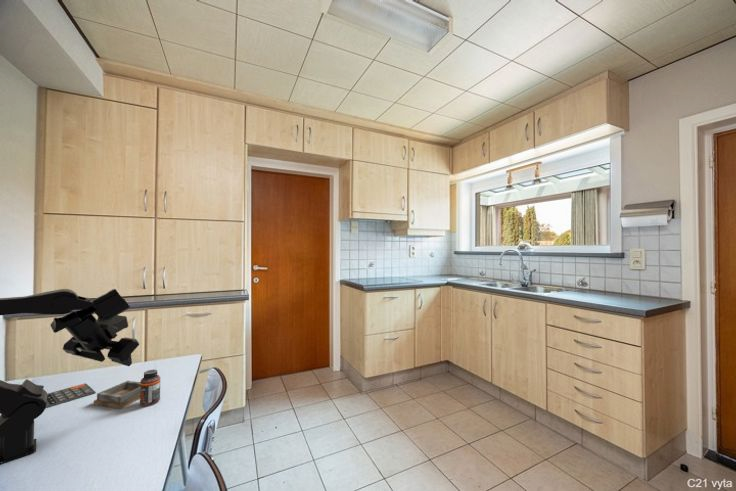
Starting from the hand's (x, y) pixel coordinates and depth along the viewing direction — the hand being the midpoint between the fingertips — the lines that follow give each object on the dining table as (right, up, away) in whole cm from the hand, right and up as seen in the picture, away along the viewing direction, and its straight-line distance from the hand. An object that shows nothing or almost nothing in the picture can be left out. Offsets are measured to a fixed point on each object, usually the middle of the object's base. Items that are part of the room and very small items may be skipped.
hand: (116, 362), depth 89 cm
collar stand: (-3, -14, +7) cm, 16 cm away
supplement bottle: (+7, -14, +4) cm, 17 cm away
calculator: (-25, -15, +7) cm, 30 cm away
